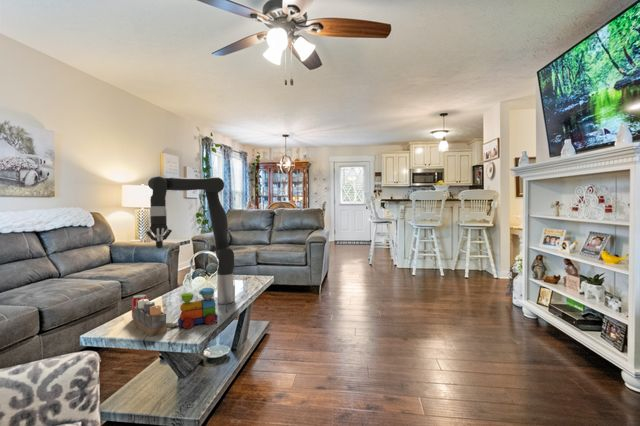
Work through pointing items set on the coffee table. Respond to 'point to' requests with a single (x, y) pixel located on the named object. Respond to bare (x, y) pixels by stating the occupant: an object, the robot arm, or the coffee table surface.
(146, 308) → the grey upright block
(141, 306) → the plunger
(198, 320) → the toy train
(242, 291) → the coffee table surface
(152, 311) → the plunger
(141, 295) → the soda can
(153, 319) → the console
